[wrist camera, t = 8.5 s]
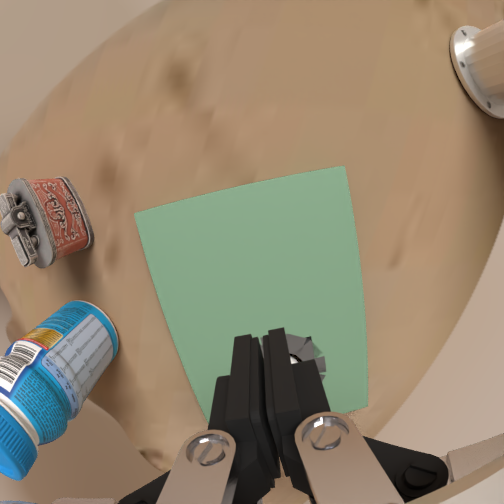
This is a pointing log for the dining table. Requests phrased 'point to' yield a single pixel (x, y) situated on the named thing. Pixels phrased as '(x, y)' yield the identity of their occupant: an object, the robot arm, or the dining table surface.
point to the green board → (263, 278)
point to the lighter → (44, 220)
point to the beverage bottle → (50, 380)
